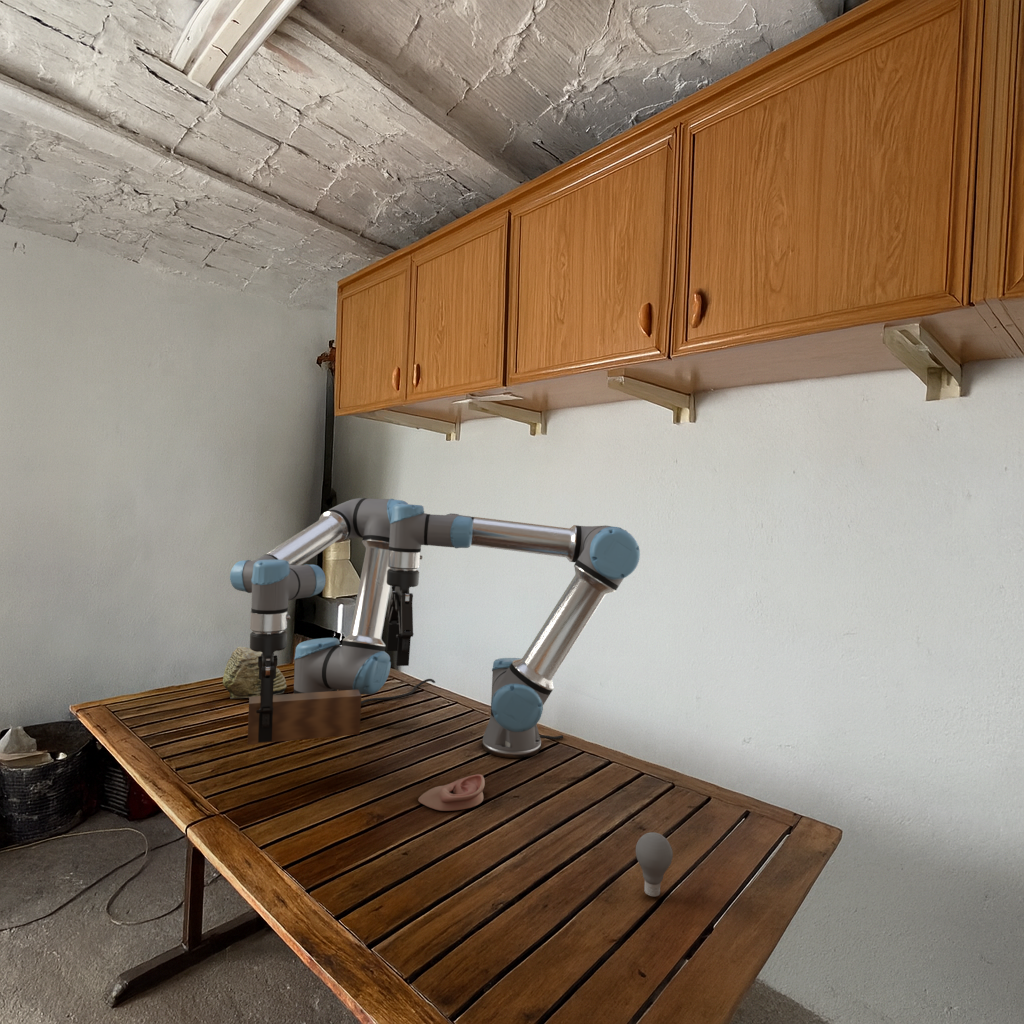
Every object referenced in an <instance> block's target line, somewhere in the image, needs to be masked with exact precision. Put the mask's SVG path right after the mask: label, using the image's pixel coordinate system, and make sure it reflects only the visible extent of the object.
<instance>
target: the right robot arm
mask: <svg viewBox="0 0 1024 1024" xmlns="http://www.w3.org/2000/svg"><path fill="white" fill-rule="evenodd" d="M422 546H431V547H444V548H454V549H469V548H471V546H472V547H479V548H488V549H495V550H502V551H503V550H504V551H511V552H519V553H528V554H534V555H541V556H542V555H544V556H552V557H560V558H566V559H567V560H568V561H569V563H574V564H573V568H574V572H575V574H574V576H573V577H572V579H571V581H570V582H569V584H568V586H567V587H566V589H565V590H564V592H563V593H562V595H561V597H560V598H559V600H558V601H557V603H556V604H555V606H554V608H553V609H552V610H551V612H550V613H549V615H548V617H547V618H546V620H545V622H544V623H543V625H542V627H541V628H540V629H539V631H538V633H537V634H536V636H535V637H534V639H533V640H532V642H531V644H530V646H529V647H528V649H527V650H526V652H525V653H524V655H523V656H522V657H499V658H496V659H495V660H494V661H493V662H492V668H491V672H492V678H491V698H490V699H491V700H490V717H489V720H488V722H487V725H486V728H485V730H484V733H483V737H482V748H483V750H484V751H485V752H487V753H488V754H490V755H493V756H495V757H500V758H505V759H522V758H523V759H524V758H528V757H532V756H536V755H537V754H538V753H539V752H540V751H541V749H542V740H541V739H546V740H552V741H553V740H554V741H555V740H557V741H558V740H561V739H564V735H556V736H555V735H554V736H553V735H545V734H540V731H539V728H538V725H537V724H538V723H539V722H540V719H541V717H542V714H543V711H544V705H545V703H546V701H547V700H548V698H549V697H550V696H551V693H552V692H553V690H554V682H553V678H554V677H555V675H556V674H557V673H558V671H559V669H560V668H561V666H562V664H563V663H564V661H565V660H566V658H567V656H568V655H569V653H570V652H571V650H572V648H573V647H574V645H575V644H576V642H577V641H578V639H579V637H580V636H581V634H582V632H583V631H584V630H585V628H586V627H587V625H588V623H589V622H590V620H591V618H592V617H593V616H594V614H595V612H596V611H597V609H598V607H600V604H601V603H602V601H603V600H604V598H605V596H606V595H608V594H611V593H616V592H617V590H618V588H619V587H620V585H621V584H622V583H623V580H624V579H625V578H627V577H629V576H630V575H632V574H633V572H634V571H635V570H636V569H637V567H638V565H639V563H640V559H641V550H640V545H639V544H638V541H637V539H635V537H634V535H632V534H631V533H630V532H628V530H626V529H624V528H622V527H618V526H612V525H587V526H586V525H575V524H574V525H572V526H571V527H562V526H552V525H545V524H536V523H527V522H519V521H511V520H503V519H496V518H486V517H479V516H470V515H463V514H459V513H448V514H447V513H446V514H431V513H425V508H424V506H423V505H421V504H411V503H408V504H395V505H394V506H393V508H392V516H391V522H390V540H389V550H388V565H387V566H388V567H390V569H388V570H387V584H388V585H390V586H391V593H390V600H389V605H388V610H387V615H386V618H387V622H388V627H387V639H386V641H387V643H386V651H387V652H396V662H395V663H396V664H395V666H396V667H407V666H408V667H409V665H410V652H411V638H412V637H414V616H413V615H414V613H413V612H414V611H413V609H414V608H413V599H414V594H413V593H412V592H411V593H410V589H411V588H415V587H418V586H419V581H420V572H419V570H418V569H419V568H420V564H421V560H423V555H421V551H422Z"/></svg>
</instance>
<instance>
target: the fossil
mask: <svg viewBox="0 0 1024 1024" xmlns="http://www.w3.org/2000/svg"><path fill="white" fill-rule="evenodd" d="M261 654H262V652H260V651H259V652H256V651H253V650H251V649H250V647H247V646H246V647H245V646H238V647H237V648H236V649H235V650H233V651H232V653H231V656H230V657H229V659H228V660H227V663H226V666H225V668H224V671H223V675H222V676H223V677H222V685H223V687H224V688H225V690H226V691H228V693H229V698H230V699H249V697H253V696H260V693H261V680H260V679H259V667H258V656H261ZM287 687H288V686H287V680H286V678H285V676H284V674H283V673H282V672H281V669H279V668H278V667H276V678H275V679H274V683H273V695H281V694H284V693H285V691H286V689H287Z"/></svg>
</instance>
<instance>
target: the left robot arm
mask: <svg viewBox="0 0 1024 1024" xmlns="http://www.w3.org/2000/svg"><path fill="white" fill-rule="evenodd" d="M395 504H409V503H408V502H406V501H405V500H401V499H395V498H367V497H358V498H352V499H350V500H346V501H344V502H342V503H339V504H337V505H335V506H333V507H331V508H329V509H328V510H326V511H324V512H323V513H321V514H320V516H319V518H318V520H316V522H313V523H312V524H311V525H309V526H307V527H306V528H304V529H303V530H301V531H299V532H298V533H295V535H293V536H291V537H289V538H288V539H287V540H285V541H283V542H282V543H279V545H277V546H275V547H273V548H272V549H270V550H269V551H267V552H266V553H264V554H263V555H261V556H260V557H257V558H255V559H254V560H251V559H246V560H245V559H244V560H239V561H237V562H235V564H233V566H232V567H231V570H230V573H229V581H230V584H231V586H232V588H233V589H234V590H236V591H239V592H245V593H247V594H251V608H250V610H251V611H250V619H249V620H250V621H249V623H250V624H249V630H250V631H251V632H250V634H249V648H250V649H251V650H253V651H256V652H259V651H260V652H262V654H261V656H258V667H259V679H260V680H261V693H260V696H261V701H260V709H259V710H256V713H259V735H258V742H268V743H270V742H269V741H272V720H273V683H274V679H275V678H276V668H277V667H278V661H279V660H278V654H276V655H275V652H280V651H282V650H283V651H284V650H285V649H287V641H288V632H287V631H286V629H288V621H287V620H290V619H291V616H290V614H288V610H289V601H293V600H298V599H304V598H311V597H313V596H316V595H319V594H320V593H321V592H322V591H323V590H324V588H325V586H326V581H327V580H326V574H325V571H324V570H323V569H322V568H321V567H320V566H319V565H317V564H308V563H307V562H309V561H310V560H312V559H314V558H315V557H316V556H317V555H319V554H320V553H322V552H324V551H325V550H326V549H327V548H329V547H331V546H332V545H333V544H334V543H335V544H339V543H342V542H344V541H345V540H347V539H352V538H354V539H355V538H359V539H360V538H361V539H362V541H361V543H362V544H363V546H364V547H365V553H364V559H363V562H362V563H363V564H362V569H361V574H360V578H359V585H358V590H357V595H356V600H355V605H354V609H353V610H354V611H353V614H352V620H351V626H350V630H349V634H348V635H347V636H346V637H344V638H342V641H341V642H340V640H339V638H337V637H321V638H313V639H307V640H304V641H302V642H299V643H298V644H297V645H296V647H295V652H294V653H295V654H294V658H293V659H294V670H293V671H294V672H293V694H298V693H313V692H328V691H343V690H359V692H360V694H361V695H367V696H369V695H374V694H376V693H378V692H379V691H380V690H381V689H382V687H384V685H385V684H386V682H387V680H388V678H389V676H390V672H391V665H392V662H391V656H390V655H389V653H387V652H386V651H385V650H386V647H387V644H386V643H385V642H384V641H383V639H382V637H383V632H384V631H383V630H384V626H385V620H386V619H385V618H386V616H387V615H386V614H387V608H388V603H389V597H390V594H391V593H390V592H391V588H392V586H390V585H388V584H387V570H388V569H390V567H388V566H387V565H388V550H389V540H390V522H391V516H392V508H393V506H394V505H395ZM340 644H341V645H340ZM428 682H432V683H433V684H435V683H436V681H435V680H434V679H433V678H426V679H424V680H422V681H420V682H419V683H417V684H416V685H414V686H413V688H412V690H410V691H408V692H406V693H402V694H399V695H398V694H397V695H392V696H384V697H371V698H366V699H363V700H361V705H363V704H365V703H368V702H374V701H375V702H376V701H389V700H396V699H400V698H405V697H408V696H410V695H412V694H414V693H415V692H416V690H417V688H419V687H420V686H422V685H423V684H425V683H428Z"/></svg>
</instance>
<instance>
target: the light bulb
mask: <svg viewBox="0 0 1024 1024" xmlns="http://www.w3.org/2000/svg"><path fill="white" fill-rule="evenodd" d="M673 853H674V852H673V848H672V845H671V844H670V842H669V841H668V839H667V838H666V837H665V836H664V835H662V834H661V833H659V832H654V831H652V832H647V833H644V834H643V835H641V837H639V839H638V840H637V842H636V843H635V857H636V860H637V862H638V864H639V866H640V868H641V870H642V877H643V879H644V888H643V890H644V893H645V894H646V895H648V896H650V897H658V896H660V895H661V884H662V882H663V880H664V875H665V873H666V872H667V870H668V869H669V868H670V866H671V864H672V861H673V858H674V857H673V856H674V854H673Z"/></svg>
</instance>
